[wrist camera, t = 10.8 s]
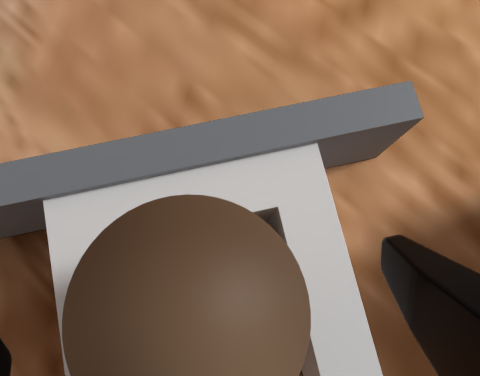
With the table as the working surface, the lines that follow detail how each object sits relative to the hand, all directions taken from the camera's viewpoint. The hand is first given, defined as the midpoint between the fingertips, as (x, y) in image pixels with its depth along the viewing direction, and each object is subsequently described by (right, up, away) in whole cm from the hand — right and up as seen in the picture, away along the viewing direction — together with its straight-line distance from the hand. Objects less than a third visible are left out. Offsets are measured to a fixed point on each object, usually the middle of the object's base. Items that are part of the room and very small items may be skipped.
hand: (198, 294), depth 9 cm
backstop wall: (-1, +3, +10) cm, 10 cm away
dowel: (0, -2, +9) cm, 9 cm away
